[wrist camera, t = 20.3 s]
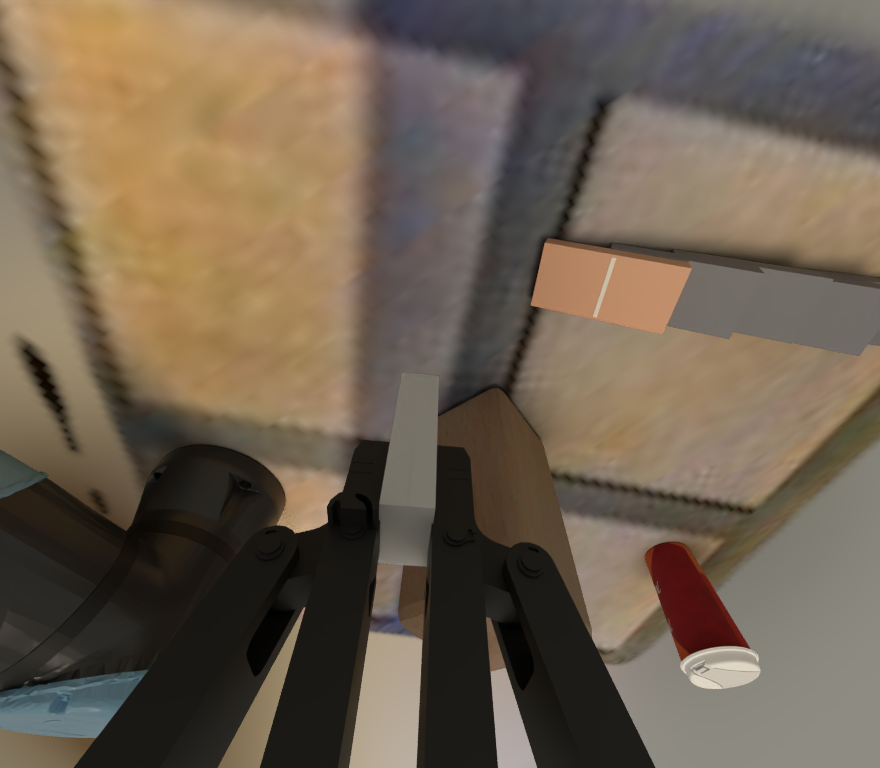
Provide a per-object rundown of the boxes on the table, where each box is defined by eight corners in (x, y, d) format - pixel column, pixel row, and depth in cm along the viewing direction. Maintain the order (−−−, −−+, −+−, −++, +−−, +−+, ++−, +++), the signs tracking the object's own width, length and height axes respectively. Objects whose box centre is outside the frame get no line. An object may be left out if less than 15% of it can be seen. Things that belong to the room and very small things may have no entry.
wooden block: (416, 423, 42) (389, 626, 25) (498, 379, 38) (530, 581, 22) (467, 478, 46) (474, 681, 30) (545, 443, 43) (602, 651, 26)
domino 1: (591, 310, 32) (728, 339, 30) (611, 247, 29) (765, 274, 27) (592, 302, 33) (724, 330, 31) (612, 242, 31) (758, 267, 28)
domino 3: (713, 327, 33) (859, 356, 30) (743, 267, 30) (907, 293, 27) (709, 320, 34) (848, 346, 31) (738, 261, 31) (893, 286, 29)
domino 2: (650, 315, 32) (792, 343, 30) (675, 254, 29) (834, 279, 27) (648, 308, 34) (784, 334, 31) (672, 248, 31) (823, 272, 28)
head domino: (548, 237, 31) (689, 262, 28) (534, 298, 33) (660, 325, 31) (544, 242, 29) (692, 268, 27) (530, 305, 32) (662, 334, 30)
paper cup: (624, 562, 54) (670, 682, 43) (662, 530, 50) (724, 655, 39) (671, 575, 56) (727, 695, 44) (711, 546, 52) (785, 670, 40)
